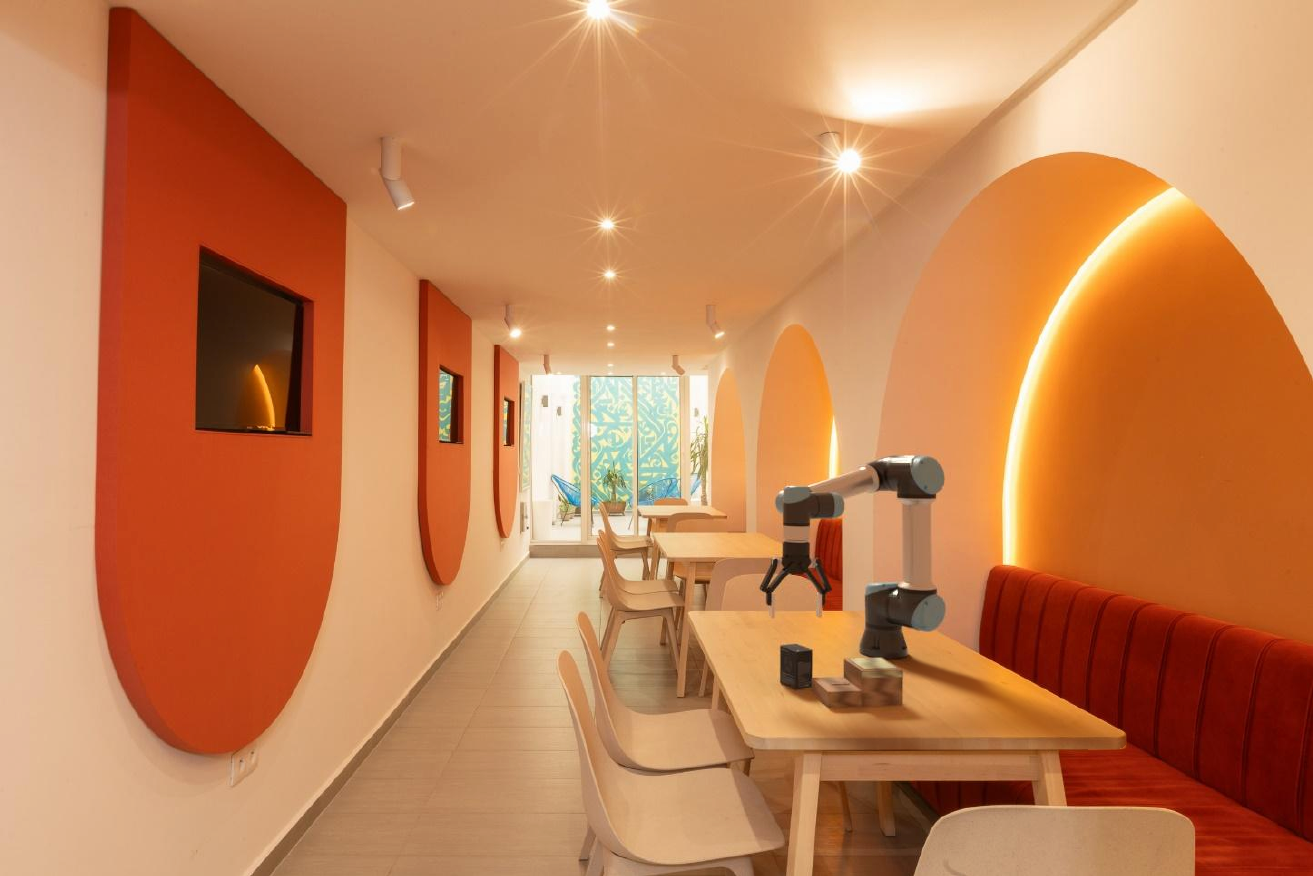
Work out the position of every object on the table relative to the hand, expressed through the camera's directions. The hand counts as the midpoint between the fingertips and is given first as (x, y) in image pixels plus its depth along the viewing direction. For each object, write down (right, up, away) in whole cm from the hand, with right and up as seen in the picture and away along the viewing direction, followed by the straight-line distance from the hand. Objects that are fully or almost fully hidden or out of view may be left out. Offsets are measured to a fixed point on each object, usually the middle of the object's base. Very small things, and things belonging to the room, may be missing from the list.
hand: (795, 617), depth 205 cm
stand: (+14, -19, -12) cm, 26 cm away
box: (0, -19, -1) cm, 19 cm away
